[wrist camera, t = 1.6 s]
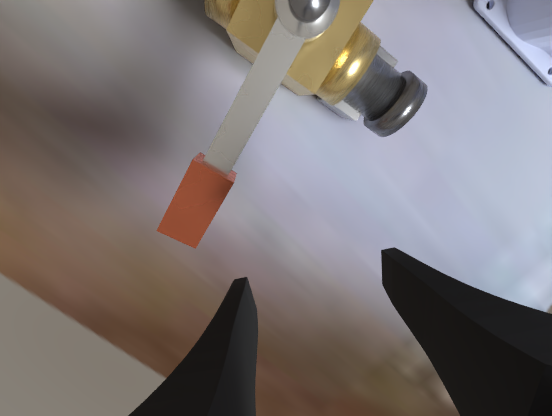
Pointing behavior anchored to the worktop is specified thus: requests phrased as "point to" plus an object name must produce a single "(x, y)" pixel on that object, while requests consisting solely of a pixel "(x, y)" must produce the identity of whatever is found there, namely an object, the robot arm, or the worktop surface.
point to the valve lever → (243, 118)
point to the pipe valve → (332, 63)
